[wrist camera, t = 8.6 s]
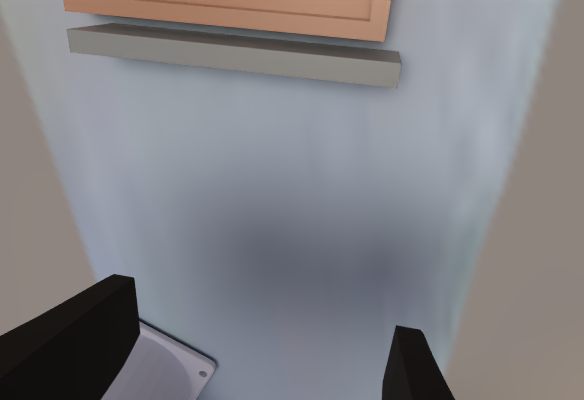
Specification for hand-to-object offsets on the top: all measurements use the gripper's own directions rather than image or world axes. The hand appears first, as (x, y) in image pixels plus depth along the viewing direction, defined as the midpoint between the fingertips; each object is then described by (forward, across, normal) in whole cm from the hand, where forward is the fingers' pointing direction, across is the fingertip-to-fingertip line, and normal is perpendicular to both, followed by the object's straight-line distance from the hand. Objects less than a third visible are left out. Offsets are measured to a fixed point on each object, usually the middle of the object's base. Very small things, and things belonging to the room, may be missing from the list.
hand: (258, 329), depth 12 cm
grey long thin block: (+9, +3, -6) cm, 12 cm away
